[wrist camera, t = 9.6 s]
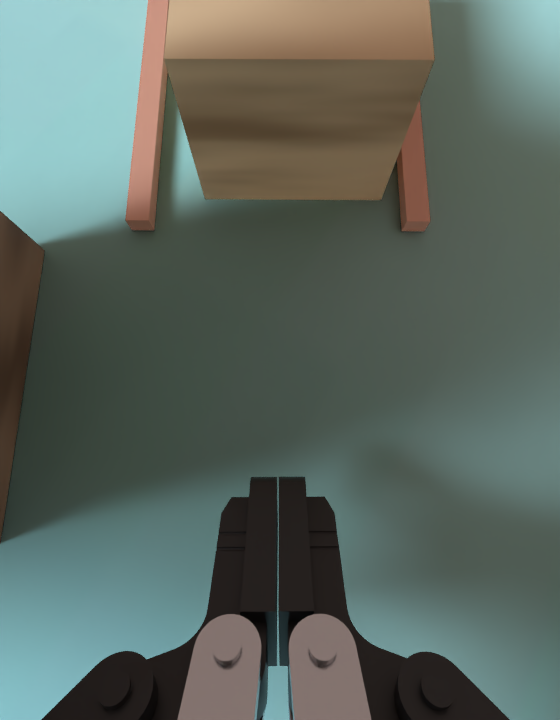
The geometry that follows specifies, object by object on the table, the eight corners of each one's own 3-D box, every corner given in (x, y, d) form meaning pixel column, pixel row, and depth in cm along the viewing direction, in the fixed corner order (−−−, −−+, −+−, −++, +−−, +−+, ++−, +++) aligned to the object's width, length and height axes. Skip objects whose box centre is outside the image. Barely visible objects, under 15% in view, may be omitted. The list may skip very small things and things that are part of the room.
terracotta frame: (424, 231, 19) (430, 221, 18) (131, 230, 19) (125, 220, 18) (404, -10, 22) (408, -27, 21) (155, -11, 22) (150, -28, 21)
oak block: (380, 202, 19) (434, 59, 12) (205, 201, 19) (163, 58, 12) (371, 29, 21) (412, -170, 15) (215, 29, 22) (185, -170, 15)
